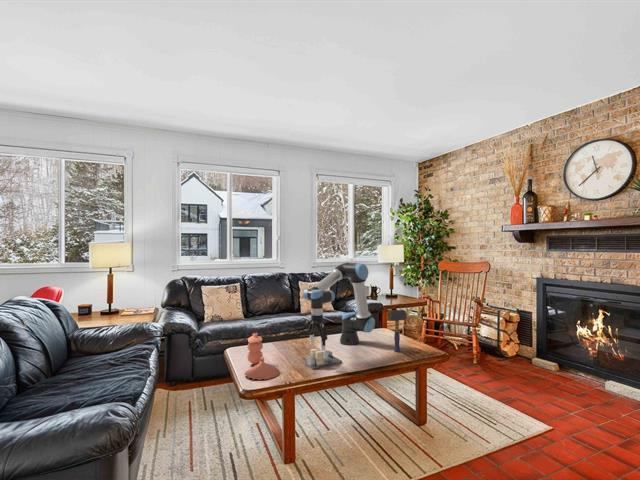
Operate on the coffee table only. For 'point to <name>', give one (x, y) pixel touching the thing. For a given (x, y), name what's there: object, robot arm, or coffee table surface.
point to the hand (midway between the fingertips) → (317, 347)
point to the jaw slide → (328, 355)
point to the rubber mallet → (397, 324)
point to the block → (318, 356)
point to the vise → (312, 365)
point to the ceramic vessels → (255, 357)
